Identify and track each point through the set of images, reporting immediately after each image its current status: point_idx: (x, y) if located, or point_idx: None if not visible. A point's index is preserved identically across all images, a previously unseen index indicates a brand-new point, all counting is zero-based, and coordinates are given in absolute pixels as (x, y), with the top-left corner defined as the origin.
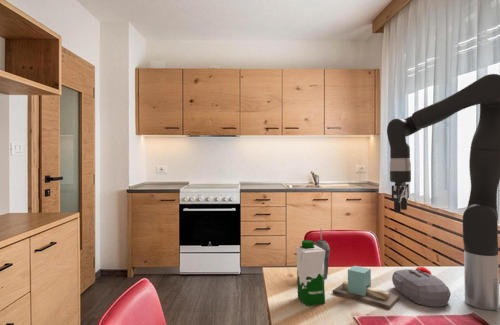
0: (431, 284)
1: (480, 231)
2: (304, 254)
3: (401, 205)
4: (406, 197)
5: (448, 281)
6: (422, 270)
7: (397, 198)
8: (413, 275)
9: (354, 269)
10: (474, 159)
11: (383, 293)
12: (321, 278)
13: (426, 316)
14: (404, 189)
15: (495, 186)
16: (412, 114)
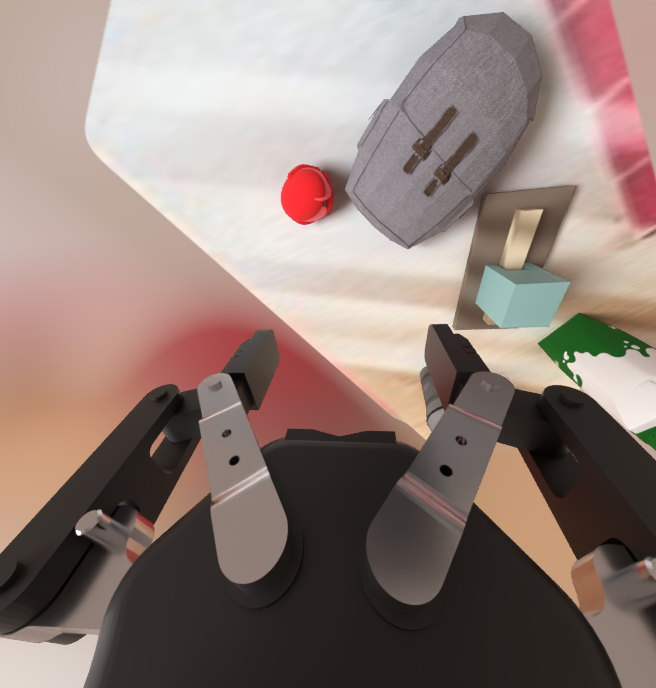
0: (514, 72)
1: None
2: None
3: (270, 375)
4: (236, 397)
5: (249, 127)
6: (324, 187)
7: (608, 424)
8: (465, 165)
9: (540, 314)
10: None
11: (537, 221)
12: (646, 344)
13: (589, 70)
14: (429, 531)
15: None
16: None
